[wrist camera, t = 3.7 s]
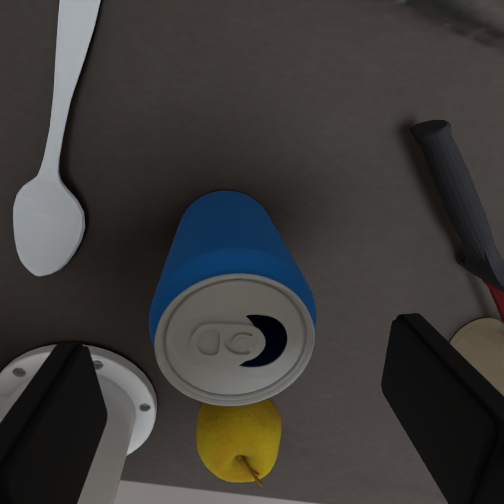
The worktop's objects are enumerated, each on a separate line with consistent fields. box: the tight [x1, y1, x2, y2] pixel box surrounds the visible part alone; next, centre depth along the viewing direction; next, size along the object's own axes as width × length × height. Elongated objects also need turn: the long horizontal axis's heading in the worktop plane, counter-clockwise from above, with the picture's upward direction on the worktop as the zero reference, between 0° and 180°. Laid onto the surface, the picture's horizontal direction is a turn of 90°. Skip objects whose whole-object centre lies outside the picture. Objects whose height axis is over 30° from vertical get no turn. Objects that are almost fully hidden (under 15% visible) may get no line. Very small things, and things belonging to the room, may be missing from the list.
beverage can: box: [149, 191, 316, 406], centre depth 17 cm, size 6×6×12 cm
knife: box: [410, 120, 504, 323], centre depth 23 cm, size 24×2×5 cm, turn 35°
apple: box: [196, 398, 281, 488], centre depth 24 cm, size 6×6×8 cm
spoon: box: [13, 0, 101, 276], centre depth 17 cm, size 4×21×2 cm, turn 161°
